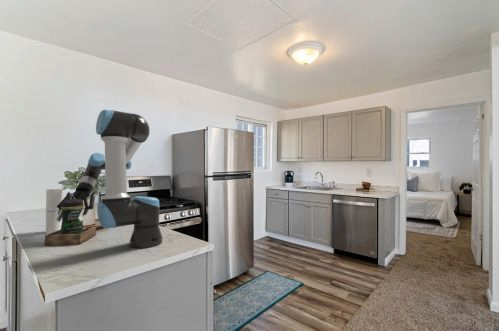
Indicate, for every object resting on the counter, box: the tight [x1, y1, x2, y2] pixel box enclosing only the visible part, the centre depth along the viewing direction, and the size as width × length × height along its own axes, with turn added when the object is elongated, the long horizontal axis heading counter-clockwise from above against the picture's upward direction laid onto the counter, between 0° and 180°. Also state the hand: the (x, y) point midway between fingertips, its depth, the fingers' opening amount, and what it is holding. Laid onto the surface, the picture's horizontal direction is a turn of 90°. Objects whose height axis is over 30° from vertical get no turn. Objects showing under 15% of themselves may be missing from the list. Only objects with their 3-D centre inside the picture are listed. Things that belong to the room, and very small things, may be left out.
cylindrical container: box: [45, 187, 63, 235], centre depth 139 cm, size 7×7×25 cm
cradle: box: [44, 226, 97, 246], centre depth 124 cm, size 16×16×5 cm
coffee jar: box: [60, 198, 85, 234], centre depth 125 cm, size 10×8×19 cm
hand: (68, 220), depth 121 cm, fingers closed on coffee jar, 9 cm apart
